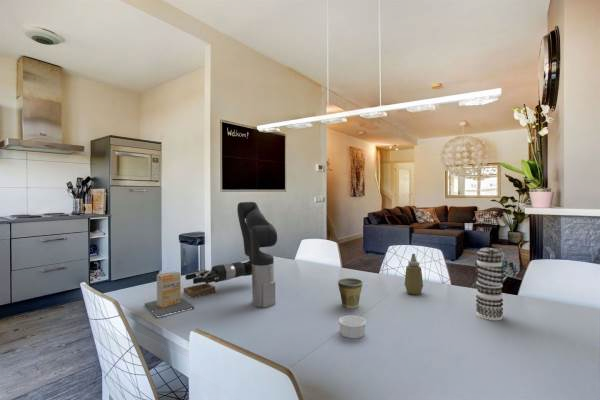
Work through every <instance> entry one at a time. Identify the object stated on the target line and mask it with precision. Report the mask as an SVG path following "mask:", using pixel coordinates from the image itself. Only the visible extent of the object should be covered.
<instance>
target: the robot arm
mask: <svg viewBox="0 0 600 400" xmlns="http://www.w3.org/2000/svg"><path fill="white" fill-rule="evenodd" d="M236 208H237V209H236V210H237V217H238V221H239V226H240V231H241V234H242V235H241V236H242V241H243V250H244V255H245V256H247V257H248V258H249V260H248V261H245V262H241V261H237V262H231V263H224V264H217V265H213V266H212V267H211V269H210V270H209V269H208V270H207V269H201V270H196V271H192V273H187V274H185V280H186V281H187V280H188V281H189V280H192V283H193V284H194V285H195V284H196V285H198V284H205V283H208V284H210V283H220V282H224V281H228V280H232V279H235V278H239V277H246V276H251V289H252V290H251V291H252V293H251V294H252V296H251V297H252V305H253V307H256V308H257V307H258V308H264V309H265V308H267V307H272V306H274V305H276V282H275V275H274V274H275V270H274V269H275V267H274V266H275V264H274V263H275V259H274V256H273V255H271V254H268V253H265V252H262V251H261V250H260V249H261V248H271V247H274V246H275V245H276V244H277V242H278V233H277V230H276V228H275V227H274V225H273V224H272V223H270V222H269V221H268V220H267V219H266V218H265V216H264V214H263V213H262V212H261V210H260V209H259V206H258V203H256V202H255V201H246V202H245V201H243V202H241V201H240V202H238V204H237V207H236Z"/></svg>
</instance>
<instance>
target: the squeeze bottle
mask: <svg viewBox="0 0 600 400" xmlns="http://www.w3.org/2000/svg"><path fill="white" fill-rule="evenodd" d="M407 264H408V265H407V266H406V267H405V274H404V277H405V278H404V286H405V290H406V292H407V293H408V294H410V295H420V294H421V293H422V290H423V287H424V282H423V273H422V267H421V266H420V262H419V261H417V256H416V254H415V253H412V254H411V258H410V260H409V261H408V262H407Z"/></svg>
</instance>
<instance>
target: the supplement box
mask: <svg viewBox="0 0 600 400" xmlns="http://www.w3.org/2000/svg"><path fill="white" fill-rule="evenodd" d="M181 287H182V286H181V272H180V271H177V270H175V271H170V272H164V273H160V274H156V301H157V306H159V307H161V308H165V307H168V306H171V305H174V304H178V303H181V298H182V297H181V296H182V295H181V294H182V292H181V290H182V289H181Z"/></svg>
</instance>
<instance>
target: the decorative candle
mask: <svg viewBox="0 0 600 400" xmlns="http://www.w3.org/2000/svg"><path fill="white" fill-rule="evenodd" d="M476 254H477V259H476V262H475V263H474V266H475V276H476V277H475V284H477V290H476V295H475V297H476V300H475V302H476V304H475V307H476V313H475V314H476V316H477V317H479V318H482V319H484V318H485V320H488V319H489V321H501V320H503V319H504V317H503V315H504V312H503V310H504V308H503V307H502V306H504V303H503V301H504V299H503V293H502V288H503V286H504V284H503V283H504V280H503V279H504V278H505V277H504V276H503V275H502V274H503V273H505V271H504V269H505V267H504V266H503V262H502V255H503V253H501V252H500V251H499V250H498V249H497V248H493V247H481V248H479V250H478V251H476ZM502 318H503V319H502Z"/></svg>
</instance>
